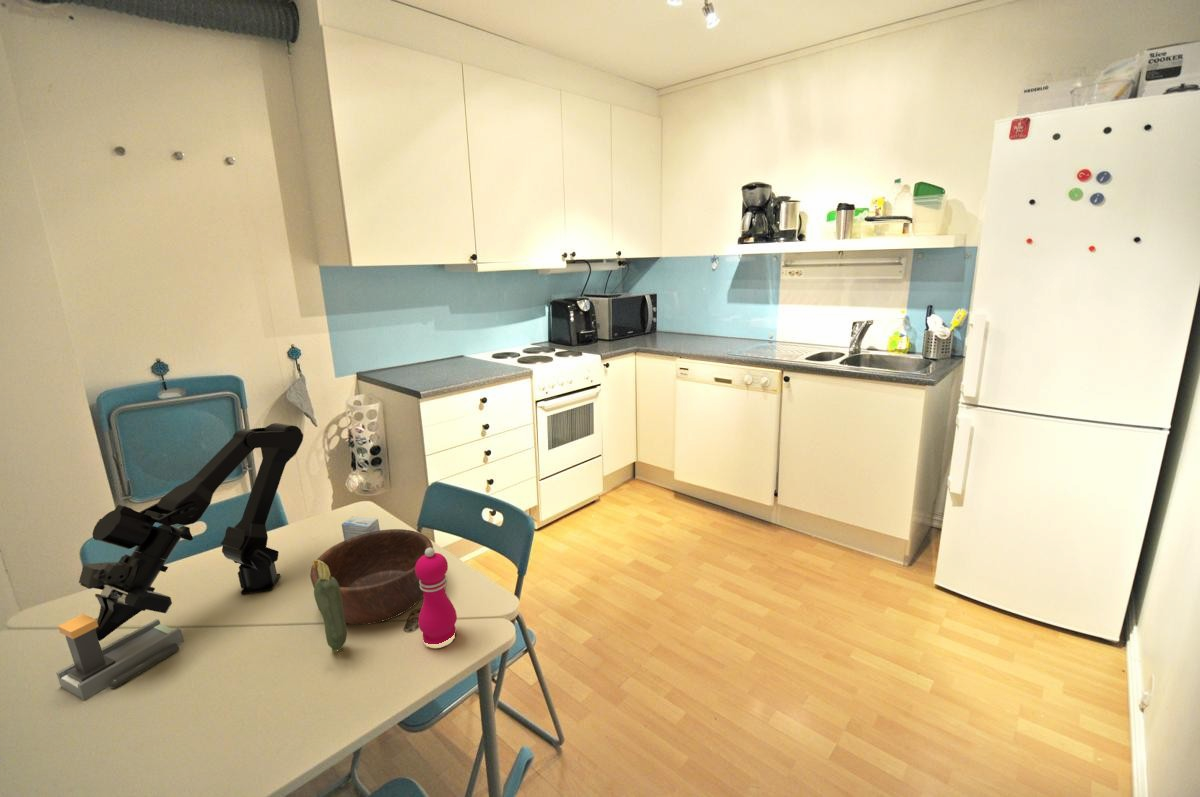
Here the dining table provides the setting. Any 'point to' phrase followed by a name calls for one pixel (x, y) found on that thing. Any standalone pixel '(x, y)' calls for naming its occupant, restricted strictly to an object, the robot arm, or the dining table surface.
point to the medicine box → (359, 526)
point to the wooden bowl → (376, 573)
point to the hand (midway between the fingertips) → (96, 640)
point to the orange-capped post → (84, 647)
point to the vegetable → (330, 606)
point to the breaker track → (127, 658)
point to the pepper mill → (435, 599)
